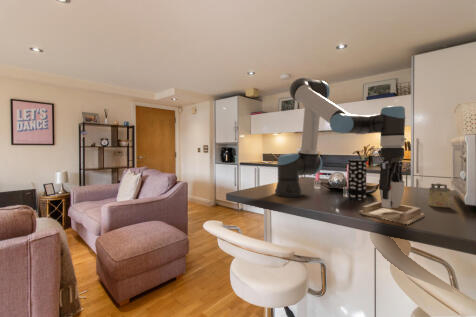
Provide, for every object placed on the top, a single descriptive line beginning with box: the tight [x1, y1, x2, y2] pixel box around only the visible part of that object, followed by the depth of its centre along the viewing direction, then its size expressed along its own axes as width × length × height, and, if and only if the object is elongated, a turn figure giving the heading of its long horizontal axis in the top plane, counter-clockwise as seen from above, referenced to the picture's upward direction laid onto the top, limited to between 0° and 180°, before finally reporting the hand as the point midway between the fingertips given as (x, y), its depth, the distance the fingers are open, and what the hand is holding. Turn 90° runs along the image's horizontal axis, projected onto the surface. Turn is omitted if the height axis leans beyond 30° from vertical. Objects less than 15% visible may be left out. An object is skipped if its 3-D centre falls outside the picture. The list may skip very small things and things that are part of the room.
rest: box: [358, 200, 425, 226], centre depth 83 cm, size 16×16×3 cm
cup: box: [378, 180, 406, 208], centre depth 83 cm, size 8×8×10 cm
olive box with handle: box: [428, 182, 451, 208], centre depth 93 cm, size 7×4×10 cm, turn 66°
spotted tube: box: [347, 159, 368, 201], centre depth 110 cm, size 8×8×20 cm
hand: (390, 205), depth 83 cm, fingers closed on cup, 8 cm apart
